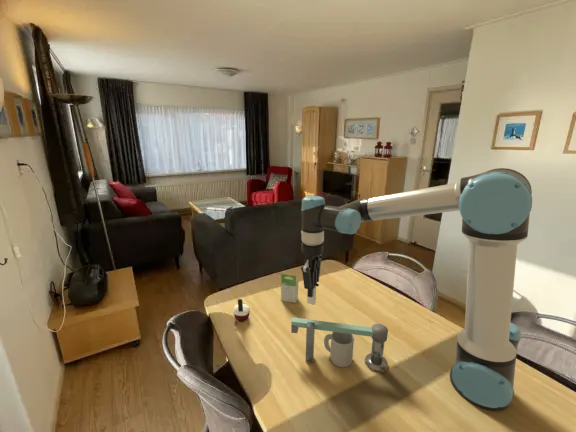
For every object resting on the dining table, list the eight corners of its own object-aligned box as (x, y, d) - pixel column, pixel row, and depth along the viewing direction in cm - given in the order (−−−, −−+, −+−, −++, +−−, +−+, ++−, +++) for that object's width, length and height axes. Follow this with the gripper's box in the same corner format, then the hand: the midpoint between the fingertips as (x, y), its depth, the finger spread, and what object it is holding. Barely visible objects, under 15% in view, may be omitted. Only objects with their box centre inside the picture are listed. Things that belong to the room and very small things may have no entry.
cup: (347, 371, 89) (349, 348, 86) (318, 358, 94) (319, 335, 91) (355, 356, 95) (357, 334, 92) (328, 345, 100) (329, 323, 97)
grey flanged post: (391, 364, 92) (394, 339, 89) (379, 375, 87) (382, 350, 85) (372, 351, 97) (375, 328, 94) (360, 362, 92) (363, 337, 90)
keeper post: (313, 357, 94) (314, 322, 91) (312, 362, 92) (314, 327, 88) (306, 356, 95) (307, 321, 91) (305, 361, 93) (306, 326, 89)
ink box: (298, 298, 128) (298, 271, 124) (295, 303, 124) (296, 276, 121) (283, 295, 130) (283, 269, 126) (280, 300, 126) (280, 273, 123)
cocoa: (239, 312, 118) (238, 286, 116) (253, 314, 117) (252, 288, 114) (229, 326, 109) (226, 298, 107) (243, 328, 108) (242, 300, 105)
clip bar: (385, 337, 92) (386, 324, 90) (387, 348, 87) (389, 334, 86) (293, 325, 97) (293, 313, 96) (290, 335, 92) (290, 322, 91)
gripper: (310, 234, 103) (309, 292, 109) (293, 246, 92) (293, 309, 98) (329, 237, 99) (327, 296, 106) (314, 250, 88) (313, 315, 95)
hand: (311, 302), depth 102 cm, fingers closed
